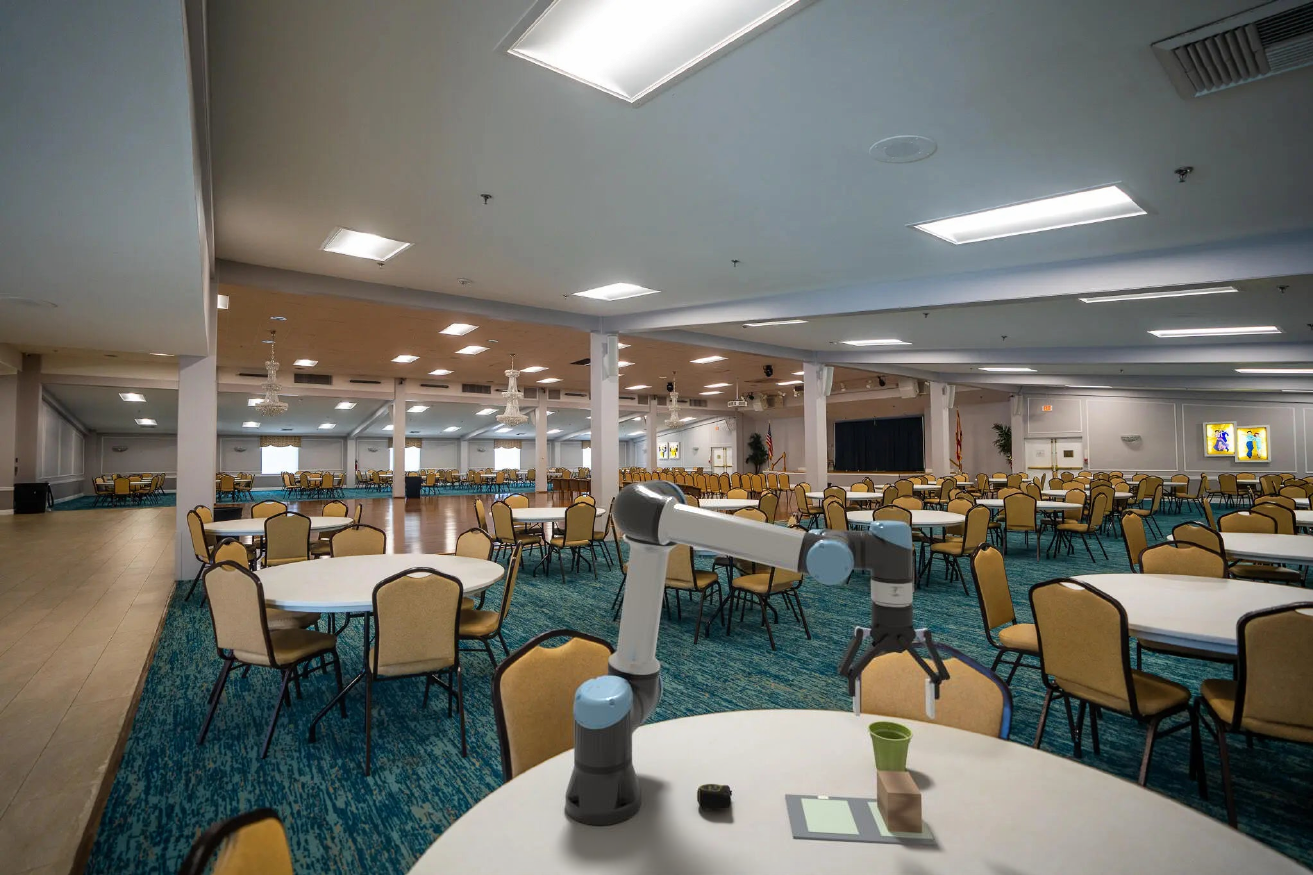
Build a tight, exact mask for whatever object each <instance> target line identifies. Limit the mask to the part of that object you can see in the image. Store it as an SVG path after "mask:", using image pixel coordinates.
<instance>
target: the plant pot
mask: <svg viewBox="0 0 1313 875" xmlns="http://www.w3.org/2000/svg"><path fill="white" fill-rule="evenodd" d="M867 731H868V733H869V735H870V739H871V741H872V748H873V755H874V762H875V767H876V769H877V770H878V771H900V772H906V768H907V761H908V760H907V757H908V751H909V746H910V745H909V744H910V743H911V739H912V738H913V735H914V732H913V731H912V729H911V728H909V727H907V726H906V725H903V724H902V723H898V722H894V721H889V720H888V721H887V720H879V721H878V720H877V721H873V722H871V723H869V724H868V725H867Z"/></svg>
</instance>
